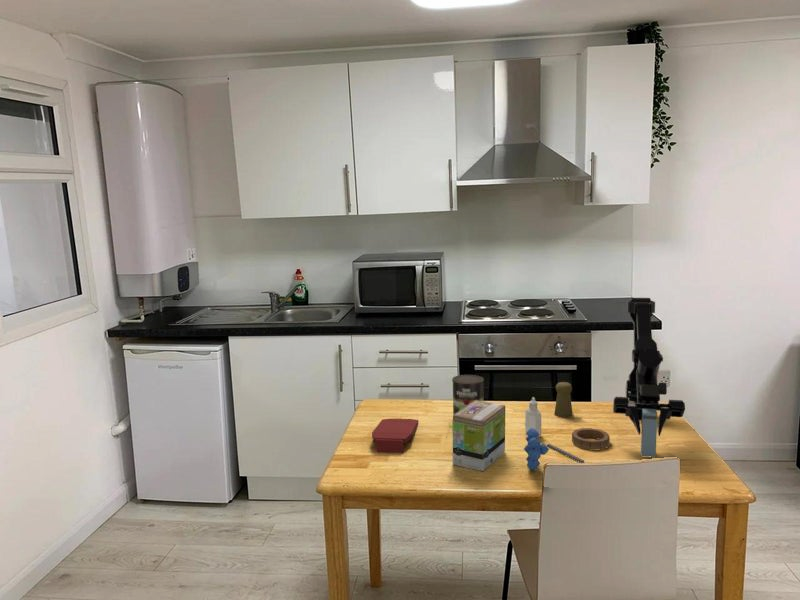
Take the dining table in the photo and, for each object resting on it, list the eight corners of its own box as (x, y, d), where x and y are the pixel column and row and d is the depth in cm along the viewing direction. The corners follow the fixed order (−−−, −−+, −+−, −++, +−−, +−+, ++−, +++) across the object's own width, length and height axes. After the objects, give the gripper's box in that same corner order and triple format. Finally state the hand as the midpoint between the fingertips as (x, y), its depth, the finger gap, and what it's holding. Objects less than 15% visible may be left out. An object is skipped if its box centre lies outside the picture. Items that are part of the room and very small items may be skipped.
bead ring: (590, 433, 192) (590, 425, 192) (616, 444, 183) (616, 436, 183) (565, 440, 188) (565, 432, 187) (590, 452, 178) (590, 444, 178)
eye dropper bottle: (527, 438, 190) (527, 400, 188) (524, 431, 196) (524, 394, 194) (541, 438, 190) (542, 400, 188) (538, 431, 196) (538, 394, 194)
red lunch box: (383, 433, 209) (369, 452, 184) (382, 418, 209) (368, 436, 184) (418, 433, 207) (409, 453, 182) (418, 418, 207) (409, 437, 182)
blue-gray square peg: (640, 451, 178) (642, 408, 176) (654, 452, 177) (656, 409, 175) (641, 457, 174) (643, 412, 172) (655, 458, 173) (657, 413, 171)
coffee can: (482, 425, 202) (482, 384, 199) (451, 424, 204) (450, 383, 202) (485, 414, 212) (484, 374, 209) (455, 413, 214) (454, 373, 211)
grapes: (551, 480, 163) (551, 436, 161) (525, 479, 164) (525, 436, 162) (546, 461, 174) (547, 420, 172) (522, 460, 175) (522, 419, 173)
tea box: (484, 472, 168) (484, 420, 166) (451, 465, 174) (450, 414, 171) (506, 452, 181) (506, 403, 178) (474, 445, 186) (474, 398, 184)
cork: (571, 411, 212) (571, 380, 210) (574, 417, 206) (574, 385, 204) (553, 411, 212) (553, 380, 211) (555, 417, 207) (556, 385, 205)
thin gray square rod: (549, 445, 184) (549, 443, 184) (584, 462, 172) (584, 460, 172) (546, 446, 184) (546, 444, 184) (581, 463, 172) (581, 461, 172)
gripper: (614, 369, 178) (615, 420, 170) (685, 373, 173) (690, 425, 164) (612, 387, 187) (613, 436, 178) (680, 391, 182) (684, 441, 173)
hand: (649, 434), depth 173 cm, fingers open, 5 cm apart
